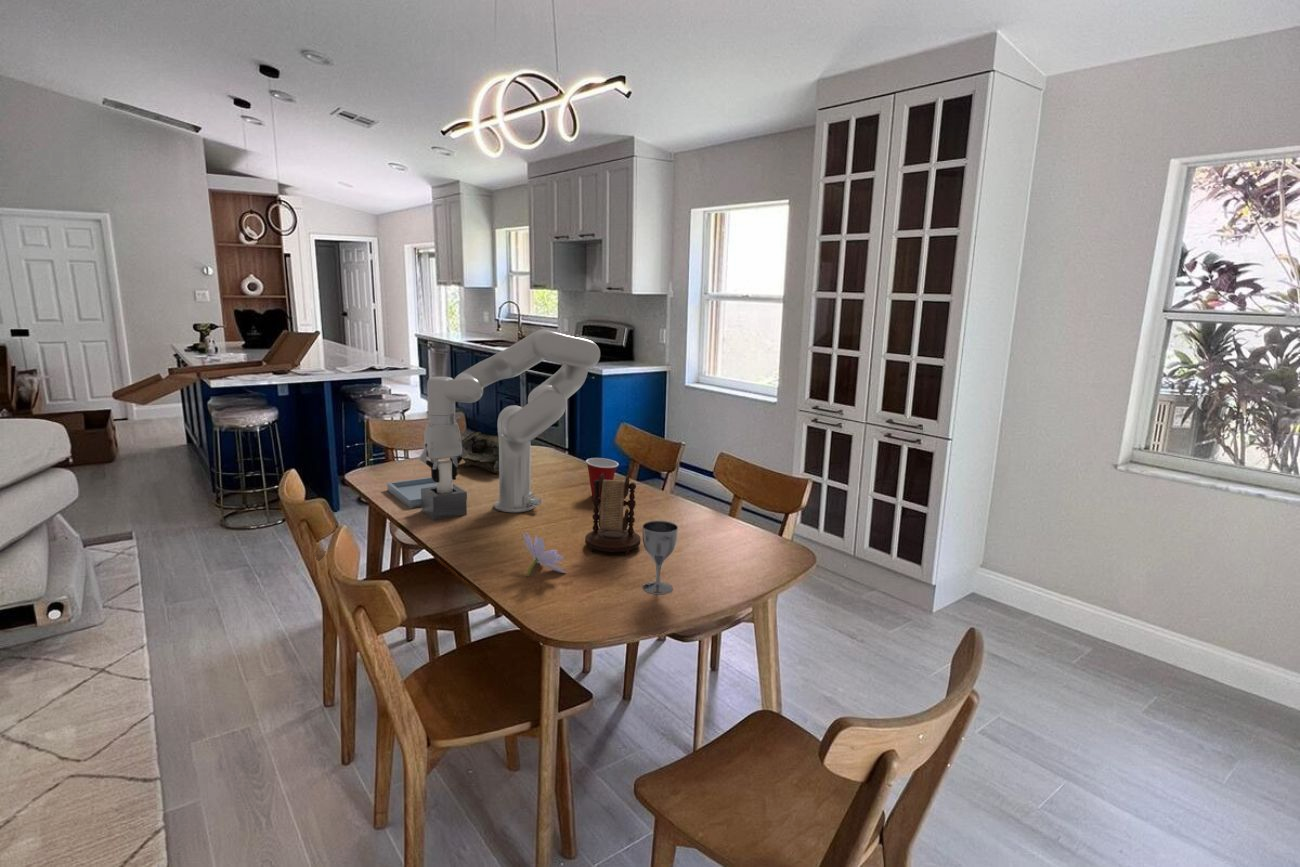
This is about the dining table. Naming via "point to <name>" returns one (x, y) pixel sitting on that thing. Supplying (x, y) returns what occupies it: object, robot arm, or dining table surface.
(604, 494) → the scroll
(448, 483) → the dowel pin
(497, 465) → the hollow geode rock
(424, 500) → the socket block
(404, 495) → the tray
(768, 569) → the dining table surface
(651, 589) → the wine glass
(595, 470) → the plastic cup
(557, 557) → the water lily
